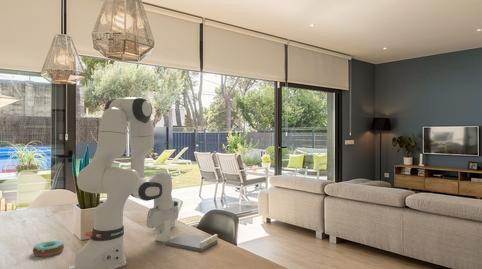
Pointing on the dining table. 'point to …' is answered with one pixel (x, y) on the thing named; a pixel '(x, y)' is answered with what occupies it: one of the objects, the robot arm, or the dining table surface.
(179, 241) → the grey panel white edge
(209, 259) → the dining table surface
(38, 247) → the donut
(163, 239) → the carton
